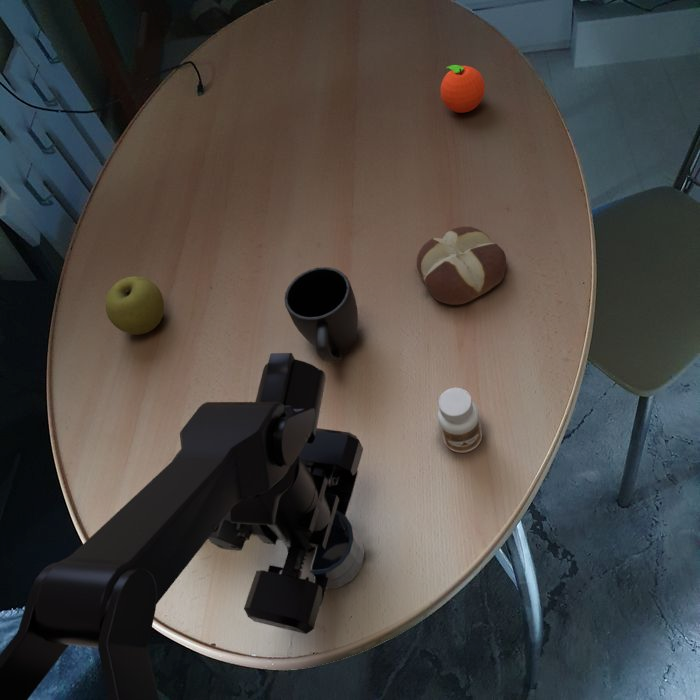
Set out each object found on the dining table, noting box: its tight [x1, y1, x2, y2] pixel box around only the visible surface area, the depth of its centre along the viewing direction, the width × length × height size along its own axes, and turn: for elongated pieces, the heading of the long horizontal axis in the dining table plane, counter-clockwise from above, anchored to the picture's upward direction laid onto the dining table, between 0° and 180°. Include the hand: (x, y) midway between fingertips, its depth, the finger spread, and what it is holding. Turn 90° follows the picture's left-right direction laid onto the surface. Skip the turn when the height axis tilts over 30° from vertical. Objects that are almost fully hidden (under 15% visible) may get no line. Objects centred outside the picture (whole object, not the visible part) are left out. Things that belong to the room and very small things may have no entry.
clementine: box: [440, 64, 486, 114], centre depth 107 cm, size 8×7×7 cm
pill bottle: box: [436, 387, 483, 454], centre depth 73 cm, size 4×4×8 cm
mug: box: [284, 266, 359, 363], centre depth 83 cm, size 8×12×10 cm
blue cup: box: [286, 509, 365, 590], centre depth 69 cm, size 7×7×6 cm
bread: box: [416, 226, 507, 306], centre depth 88 cm, size 11×11×5 cm
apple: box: [104, 275, 165, 335], centre depth 95 cm, size 8×8×7 cm
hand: (329, 552), depth 70 cm, fingers closed on blue cup, 7 cm apart
